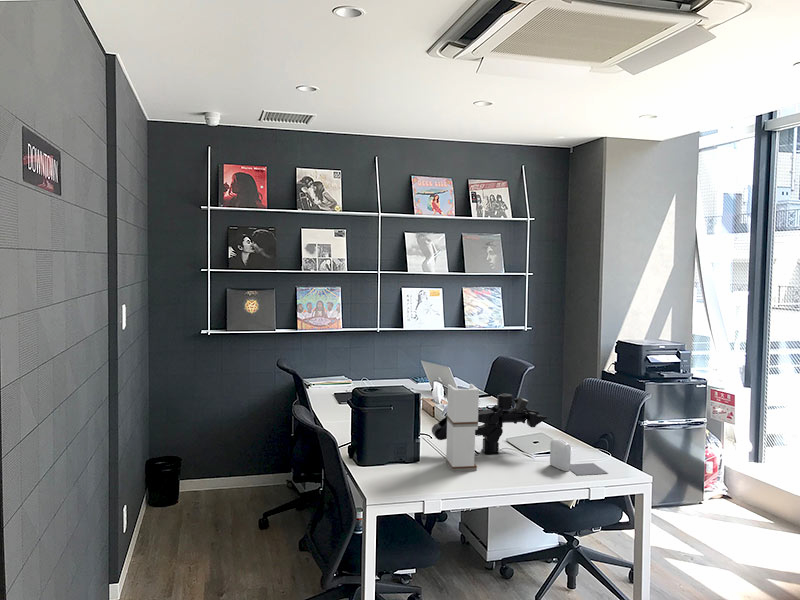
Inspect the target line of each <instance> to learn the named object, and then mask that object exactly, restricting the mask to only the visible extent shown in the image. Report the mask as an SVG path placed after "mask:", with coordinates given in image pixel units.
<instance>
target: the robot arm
mask: <svg viewBox="0 0 800 600" xmlns="http://www.w3.org/2000/svg"><path fill="white" fill-rule="evenodd" d="M496 398H497V399H496V400H497V401H496V403H497V404H495V405H493V407H491V408H489V409H484V410H481V411H478V423H481V425H478V430H475V436H482V437H483V438H482V449H481V452H483V454H485V455H498V454H500V453H499V450H500V449H499V445H500V443H499V439H500V438H501V437H502V435H503V433H504V431H503V425H504V424H506V423H507V424H508V423H509V424H510V423H511V424H512V423H513V424H517V423H523V424H526V425H527V426H528V427H530V428H536V427H537V425H539V424H540V423H542V422H544V421H545V420H548V419H547V418H548V417H547V416H546V415H545V416H544V415H539V414H540V412H539V411H537V410H532V409H528V408H527V405H528V404H529V400H528V399H525V398H523V397H519V396H518V397H517V398H514V399H513V394H511V393H500V394H498V395H496ZM513 403H514V406H515V407H513V408H512V406H513ZM431 433H432V435H433V436H434V437H435V439H437V440H438V441H444V440H447V415H446V416H445V417H444V418H442V419H441V420H440V421H439V422H438V423H435V424H434V425H433V426H432V427H431Z"/></svg>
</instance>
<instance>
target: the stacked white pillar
mask: <svg viewBox="0 0 800 600" xmlns="http://www.w3.org/2000/svg"><path fill="white" fill-rule="evenodd" d="M479 392H480V391H479V388H478V387H477V386H475V385H474V384H473V383H469V388H468V389H467V388H457V387H454V386H453V385H451V384H450V383H449V384H447V401H446V403H447V406H446V409H447V412H446V413H447V414H446V416H447V439H446V448H445V449H446V451H445V452H446V454H445V455H446V456H445V457H446V458H445V460H446V461H445V463H446V465H447V466H448V467H449V470H450V471H451V472H453V473H455V472H473V471H474V472H475V471H478V469H477V468H478V466H477V464H476V463H475V454H476V453H475V451H476V450H475V448H476V445H475V444H476V435H475V430H478V426H479V422H478V412H479V399H480V398H479V395H480V393H479Z"/></svg>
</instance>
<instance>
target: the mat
mask: <svg viewBox="0 0 800 600" xmlns="http://www.w3.org/2000/svg"><path fill="white" fill-rule="evenodd" d="M569 471H570V472H572V473H573V474H575V475H576V476H593V475H607V474H608V475H609V472H608V471H606V470H604V469H603V468H601V467H599V466H598V465H597V464H595V463H594V462H591V463H590V462H589V463H588V462H587V463H570V470H569Z"/></svg>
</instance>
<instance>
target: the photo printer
mask: <svg viewBox="0 0 800 600" xmlns="http://www.w3.org/2000/svg"><path fill="white" fill-rule="evenodd" d="M549 445H550V447H549V464H550V466H552V467H555V468H557V469H559V470H560V471H563V472H568V471H571V470H570V464H571V452H572V451H571V449H572V448H571V445H570V444H569V443H568V442H567V441H565V440H564V439H561V438H553V439H552V440H551V441H550V444H549Z"/></svg>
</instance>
